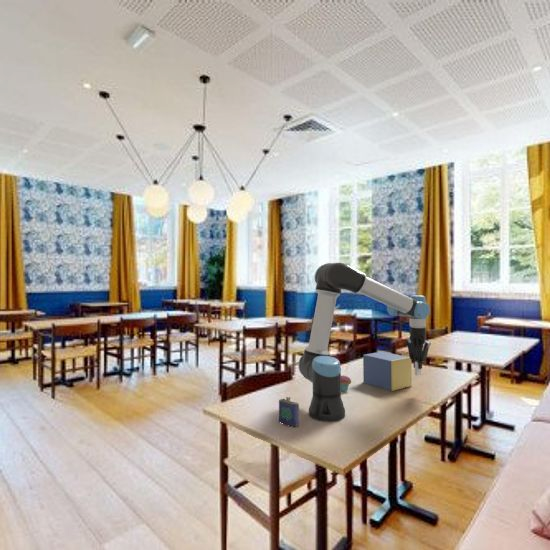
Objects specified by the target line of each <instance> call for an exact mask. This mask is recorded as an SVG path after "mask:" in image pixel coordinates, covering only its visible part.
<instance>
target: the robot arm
mask: <svg viewBox="0 0 550 550" xmlns="http://www.w3.org/2000/svg"><path fill="white" fill-rule="evenodd" d="M314 282H315V284H316V286H315V291H316V294H317V299H316V304H315V311H314V314H313V321H312V326H311V329H310V331H311V332H310V337H309V342H308V346H306V347H304V350H303V354H302V355H301V356H300V358H299V359H298V371H299V372H300V374H301V376H303V378H305V379H306V380H308V381H309V382H311V383H312V398H311V400H310V405H309V407H308V415H309V417H310V418H311V417H312V418H311V419H313V418H314V420H316V419H317V420H316V421H320V420H322V422H337V421H340V420H343V419H344V418H345V417H346V409H345V405H344V403H343V399H342V397H341V396H342V395H341V394H342V393H341V392H342V391H341V376H342V374H341V373H342V368H341V362H340V360H339V359H338V358H336V357H334V356H331V353H330V352H329V350H328V348H329V342H330V336H331V330H332V325H333V320H334V316H335V315H334V314H335V308H336V303H337V298H338V297H339V296H341V293H342V290H343V291H349V292H351V293H353V294H358V293H359V294H361V295H364V296H366V297H368V298H370V299H372V300H375V301H376V302H379V303H381V304H384V305H385V306H386V311H387V314H389V315H390V316H394V317H398V316H401V317H407V318H408V317H409V337H408V338H407V339H405V343H406V346H407V349H408V350H407V351H408V355H409V356H408V357H410V359H411V361H413V368H414V376H416V377H417V376H418V377H419V376H421V375H422V369H423V362H426V361H427V358H428V354H429V353H428V352H429V349H430V346H431V342H429V341H427V338H426V335H427V328H426V326H427V318H428V317H429V316H430V313H431V307H430V306H429V304H428V303H427V299H426V296H424V295H410V296H408V295H406V294H403V293H401V292H399V291H397V290H396V289H393V288H390V287H389V286H386V285H385V284H382V283H380V282H379V281H377V280H375V279H372V278H370V277H368V276H367V275H366V274H365V272H363V271H361V270H358V269H357V268H355V267H352V266H350V265H348V264H346V263H345V262H329V263H328V262H327V263H324V264H322V265H320V266H318V268H317V269H316V270H315V272H314Z"/></svg>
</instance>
